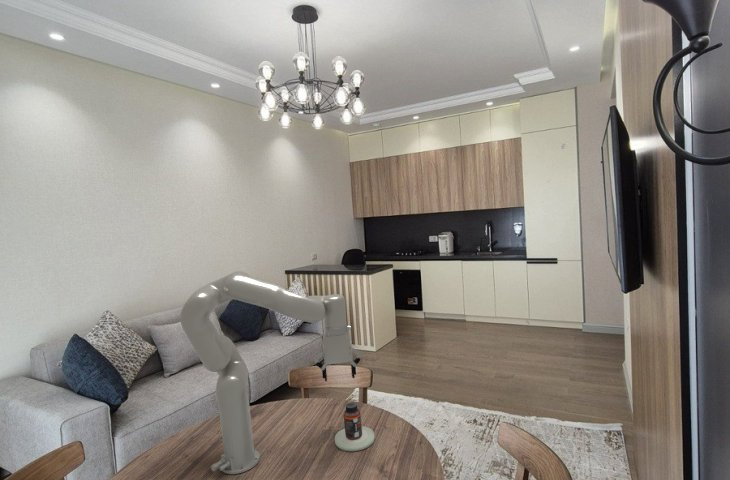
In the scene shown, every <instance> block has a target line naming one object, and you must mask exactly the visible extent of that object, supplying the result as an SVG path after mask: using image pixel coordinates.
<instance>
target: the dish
mask: <svg viewBox="0 0 730 480" xmlns="http://www.w3.org/2000/svg"><path fill="white" fill-rule="evenodd" d="M374 441H375V432H374V430H372V429H371V428H370V427H367V426H364V425H362V436H361V437H360V438H359V439H356V440H350V439H347V438H346V435H345V427H344V428H343V429H341V430H339V431H338V432H337V433H336V434H335V436H334V443H335V446H336V448H338V449H340V450H342V451H345V452H359V451H362V450H365V449H367V448H369V447H370V446H372V444H374Z"/></svg>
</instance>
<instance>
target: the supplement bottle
mask: <svg viewBox="0 0 730 480" xmlns="http://www.w3.org/2000/svg"><path fill="white" fill-rule="evenodd" d="M343 420H344V421H343V422H344V428H345V435H346V438H347V439H350V440H356V439H359V438H360V437H361V436H362V426H363V425H362V415H361V410H360V409H359V408H358V404H357V403H356V402H348V403H346V404H345V410H344V411H343Z"/></svg>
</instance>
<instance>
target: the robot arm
mask: <svg viewBox="0 0 730 480" xmlns="http://www.w3.org/2000/svg"><path fill="white" fill-rule="evenodd" d="M232 300H236V301H239V302H243V303H247V304H250V305H255V306H258V307H261V308H265V309H268V310H270V311H273V312H275V313H278V314H281V315H283V316H285V317H289V318H291V319H295V320H298V321H302V322H306V323H309V324H315V323H319V322H321V321H322V320H323V319H324V328H325V329H324V330H325V333H324V334H323V336H322V337H323V339H322V351H321V352H319V353H317V354H315V355H314V356H313V357H312V359H313V362H314V363H315V364H316V366H317V367H318V368H319V369H320V370H321V374H322V379H324V382H328V378H327V377H328V374H327V367H328V365H337V364H338V365H339V364H345V363H350V370H351V371H350V372H351V378H352V379H355V376H356V375H357V370H356V369H357V368H356V367H357V365H358V364H359V362H360V361H361V359H362V357H363V355H364V354H363V351H361V350H359V349H355V348H354V347H352V346H353V344H352V341H351V334H350V332H349V330H352V326H351V325H348V324H347V323H348V322H347V311H346V298H345V296H344V295H343V294H338V293H337V294H336V293H334V294H328V295H309V296H306V297H304V296H300V295H298V294H295V293H293V292H291V291H288V290H287V289H285V288H284V287H282V286H281V285H279V284H277V283H274V282H271V281H267V280H264V279H259V278H257V277H254V276H250V275H249V274H248V273H247V272H245V271H242V270H236V271H233V272H231V273H229V274H227V275H225V276H223V277H220V278H219V279H216V280H214V281H212V282H209V283H207V284H205V285H203V286H201V287H199V288H197V290H195V291H194V292H193V293H192V294H191V295H190V296H189V298H188V299H186V301H185V303H184V304H183V307H182V308H181V312H180V316H179V317H180V319H179V320H180V324H181V328H182V330H183V331H184V334H185V335H186V337H187V339H188V341H189V342H190V344H191V346H192V348H193V350H194V351H195V353H196V355H197V356H198V358H199V360H200V362H201V364H202V365H203V366H204V368H205V369H206V370H208V371H209V372H212V373H217V374H218V378H217V381H216V385H215V394H216V395H215V396H216V402H217V407H218V411H219V412H218V413H219V422H220V427H221V428H220V430H221V437H222V439H221V440H222V446H223V447H222V448H223V453H222V454H220V455H221V456H220V457H221V458H219V459H218V461H217V462H215V463H214V464H211V465H210V468H211V469H210V470H211V472H215V471H217V470H218V469H219V471H220V472H222V473H224V474H226V475H227V474H228V475H237V474H241V473H242V474H243V473H244V472H247V471H250V470H251V469H252V468H254V467H255V466H256V465H257V464H258V463H259V461H260V459H261V455H260V452H259V451H258V450H257V449H255V444H254V435H253V426H252V417H251V408H250V400H249V393H248V392H249V391H248V382H249V369H248V367H247V364H246V363H245V361H244V359H243V357H242V355H241V354H240V352H239V350H238V349H237V347H236V345H235V343H234V342H233V341H232V339H231V338H229V337H228V336H227V335H223V334H220V333H219V331H218V330H217V328H216V326H215V324H214V323H213V322H212V321H211V318H210V317H211V315H212V313H213V312H214V311H215V310H216V309H217V307H219V306H222V305H223V304H226V303H227V302H230V301H232ZM353 354H355V355H357V356H356V358H355V359H354V357H353V356H354V355H353ZM321 358H322V359H323V362H321V361H320V359H321Z"/></svg>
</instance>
